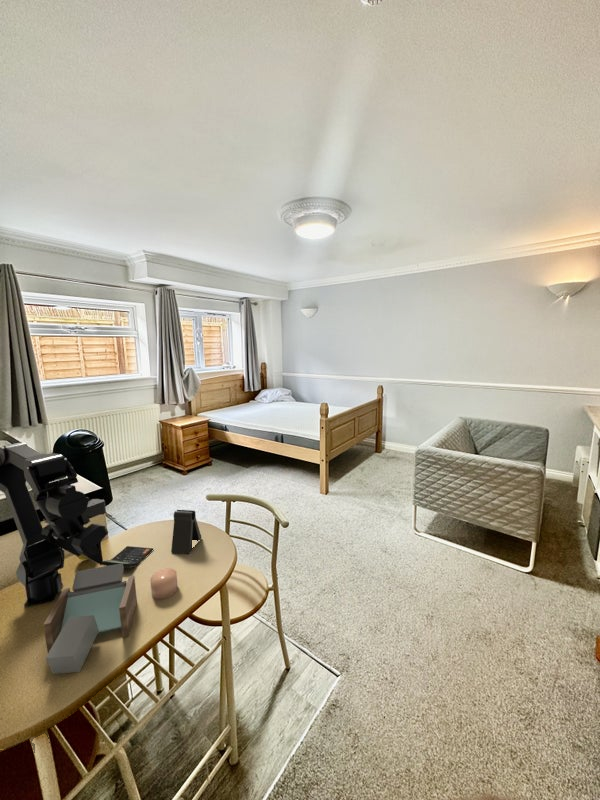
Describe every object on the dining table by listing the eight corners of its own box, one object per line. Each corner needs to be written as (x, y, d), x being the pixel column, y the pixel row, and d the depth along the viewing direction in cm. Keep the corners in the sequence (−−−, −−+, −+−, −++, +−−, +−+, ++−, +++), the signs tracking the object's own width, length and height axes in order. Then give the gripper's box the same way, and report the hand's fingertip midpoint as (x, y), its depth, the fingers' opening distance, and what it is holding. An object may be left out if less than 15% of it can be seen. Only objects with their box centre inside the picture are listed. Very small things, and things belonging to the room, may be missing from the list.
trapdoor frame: (48, 655, 70) (43, 624, 69) (67, 616, 80) (63, 588, 79) (128, 636, 74) (125, 606, 73) (137, 601, 84) (134, 575, 83)
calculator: (153, 550, 107) (152, 542, 106) (129, 574, 95) (128, 565, 95) (127, 548, 108) (126, 539, 108) (100, 571, 97) (99, 562, 97)
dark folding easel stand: (189, 554, 104) (186, 518, 102) (171, 553, 105) (168, 517, 103) (201, 538, 112) (199, 505, 111) (185, 537, 113) (182, 504, 112)
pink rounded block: (150, 601, 84) (148, 587, 84) (153, 584, 90) (151, 571, 90) (177, 595, 86) (175, 581, 85) (178, 579, 92) (177, 566, 92)
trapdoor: (60, 642, 72) (56, 639, 71) (74, 576, 81) (71, 572, 80) (122, 627, 75) (120, 624, 74) (128, 565, 85) (126, 562, 83)
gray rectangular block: (75, 632, 73) (52, 673, 65) (69, 616, 71) (45, 658, 64) (98, 630, 73) (79, 671, 66) (93, 615, 71) (73, 656, 64)
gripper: (113, 490, 79) (140, 540, 84) (71, 483, 88) (98, 529, 94) (66, 523, 70) (100, 577, 76) (25, 512, 79) (58, 561, 85)
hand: (90, 558), depth 83 cm, fingers open, 9 cm apart
